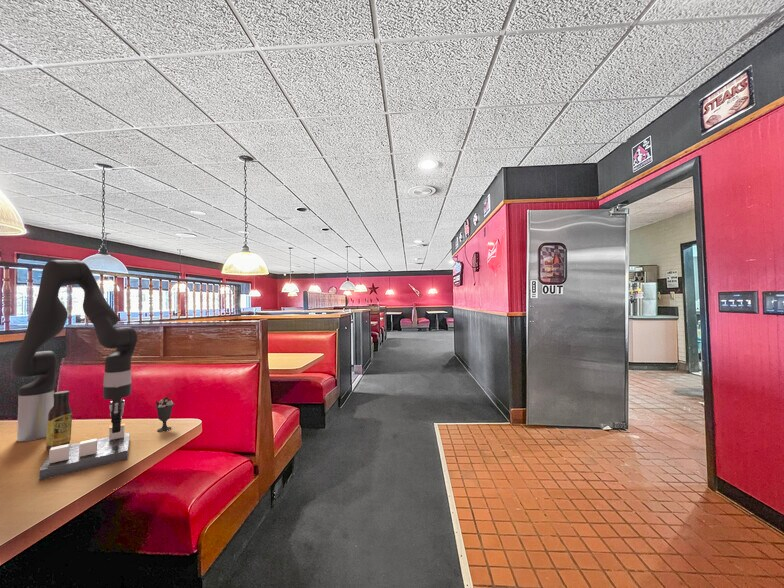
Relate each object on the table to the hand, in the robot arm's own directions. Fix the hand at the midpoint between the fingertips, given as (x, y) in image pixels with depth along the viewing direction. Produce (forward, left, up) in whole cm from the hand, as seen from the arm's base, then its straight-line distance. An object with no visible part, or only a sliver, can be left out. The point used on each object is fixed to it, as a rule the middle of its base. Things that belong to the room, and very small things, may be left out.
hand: (116, 431), depth 111 cm
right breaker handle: (+6, -13, -3) cm, 15 cm away
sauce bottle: (-17, -17, -7) cm, 24 cm away
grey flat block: (+1, -7, -7) cm, 9 cm away
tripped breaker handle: (-4, 0, -3) cm, 5 cm away
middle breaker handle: (+6, -6, -3) cm, 10 cm away
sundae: (-12, +15, -7) cm, 20 cm away
